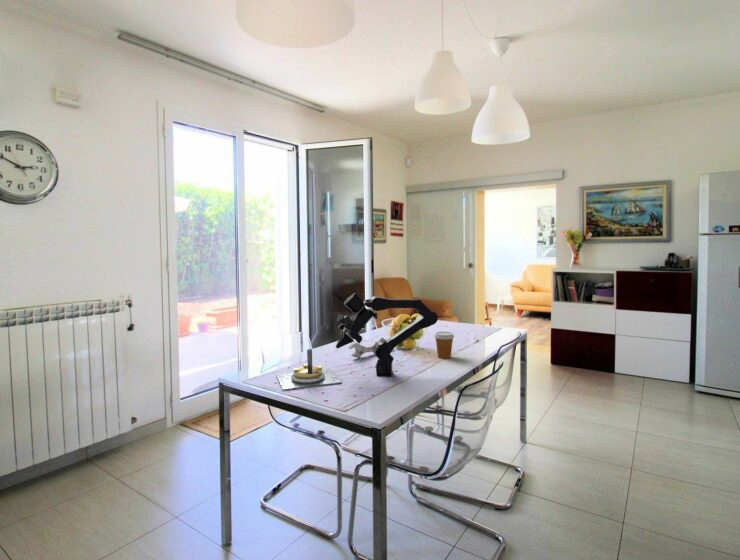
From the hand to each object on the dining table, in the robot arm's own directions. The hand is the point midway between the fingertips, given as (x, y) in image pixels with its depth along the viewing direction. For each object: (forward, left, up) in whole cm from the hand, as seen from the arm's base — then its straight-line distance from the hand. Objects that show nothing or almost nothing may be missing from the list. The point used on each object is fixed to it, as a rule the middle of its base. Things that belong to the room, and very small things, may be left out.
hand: (336, 347), depth 181 cm
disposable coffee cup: (-44, -42, -14) cm, 62 cm away
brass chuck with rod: (+12, +2, -11) cm, 17 cm away
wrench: (-7, -42, -14) cm, 45 cm away
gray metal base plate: (+12, +2, -14) cm, 18 cm away
